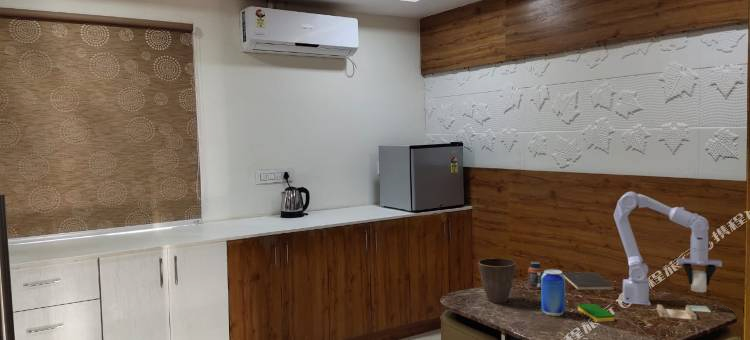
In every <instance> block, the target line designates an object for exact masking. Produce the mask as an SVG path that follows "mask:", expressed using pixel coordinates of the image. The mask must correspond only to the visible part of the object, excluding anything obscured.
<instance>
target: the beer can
mask: <svg viewBox="0 0 750 340" xmlns="http://www.w3.org/2000/svg"><path fill="white" fill-rule="evenodd" d="M562 272H563V271H562V270H559V269H552V268H551V269H545V270H544V271H543V272H542V277H541V289H540V290H541V311H542V312H543V314H544V313H545V315H546V314H547V316H550V315H551V316H550V317H561V316H562V315H564V313H565V311H566V278H565V277H564V276H563V274H562ZM560 315H561V316H560Z"/></svg>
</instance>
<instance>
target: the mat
mask: <svg viewBox="0 0 750 340" xmlns="http://www.w3.org/2000/svg"><path fill="white" fill-rule="evenodd" d="M685 307H691V309H692V310H693V311H694V312H704V313H711V312H712V311H711V310H710V309H709V308H708V306H706V305H695V304H694V305H692V304H685Z"/></svg>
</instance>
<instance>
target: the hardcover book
mask: <svg viewBox="0 0 750 340" xmlns="http://www.w3.org/2000/svg"><path fill="white" fill-rule="evenodd" d="M562 274H563V276H564V277H565V280H567V281H568V283H570V284H571V285H572V286H573V287H574V288H575V289H576V290H579V291H580V290H582V291H583V290H584V291H585V290H588V291H589V290H590V291H591V290H593V291H594V290H599V291H601V290H606V291H608V290H609V291H610V290H611V291H612V290H613V291H614V290H616V289H615V285H613V284H611V282H609V281H608V280H606V279H605V278H603V277H602V276H601V275H600V274H598V273H597V272H595V271H594V272H593V271H592V272H591V271H590V272H589V271H588V272H581V271H580V272H576V271H575V272H570V271H569V272H563V271H562Z"/></svg>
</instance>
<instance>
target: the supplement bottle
mask: <svg viewBox="0 0 750 340" xmlns="http://www.w3.org/2000/svg"><path fill="white" fill-rule="evenodd" d="M527 273H528V277H527V278H528V280H527V281H528V282H527V283H528V284H527V285H528V288H529V289H531V288H532V290H541V277H542V275H543V268H542V267H541V262H539V261H531V262H530V266H529V267H528V272H527Z"/></svg>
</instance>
